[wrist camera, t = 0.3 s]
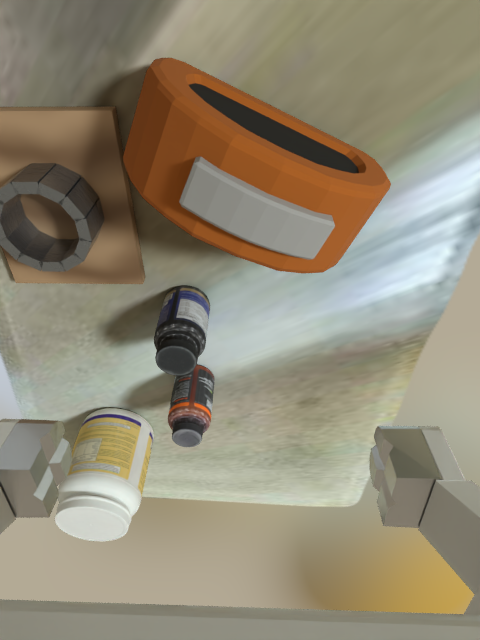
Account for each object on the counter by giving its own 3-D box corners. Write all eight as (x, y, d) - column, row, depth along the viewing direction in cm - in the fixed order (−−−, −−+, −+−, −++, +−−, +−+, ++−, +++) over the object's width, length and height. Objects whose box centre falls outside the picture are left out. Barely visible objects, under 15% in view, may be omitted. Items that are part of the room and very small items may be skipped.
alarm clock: (379, 155, 46) (427, 233, 33) (332, 227, 51) (358, 318, 38) (162, 46, 40) (117, 88, 27) (135, 139, 45) (87, 211, 32)
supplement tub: (68, 419, 75) (28, 516, 62) (122, 395, 70) (92, 494, 57) (117, 455, 81) (90, 551, 68) (169, 435, 77) (151, 533, 64)
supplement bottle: (168, 379, 68) (155, 441, 59) (188, 356, 65) (177, 418, 56) (201, 394, 70) (193, 457, 61) (222, 373, 67) (217, 436, 58)
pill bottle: (176, 325, 61) (163, 385, 52) (156, 291, 57) (138, 349, 49) (217, 313, 59) (211, 373, 51) (199, 278, 56) (189, 335, 47)
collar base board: (-45, 107, 44) (-53, 111, 43) (115, 106, 43) (111, 110, 42) (21, 276, 56) (16, 282, 55) (145, 277, 56) (143, 283, 55)
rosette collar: (-4, 163, 46) (-28, 181, 42) (92, 163, 45) (76, 181, 41) (26, 247, 52) (8, 271, 48) (111, 248, 52) (99, 271, 48)
